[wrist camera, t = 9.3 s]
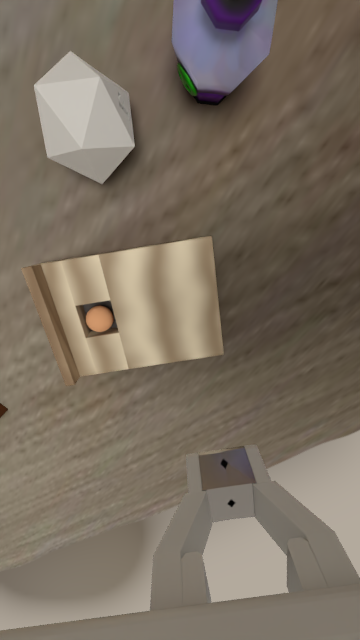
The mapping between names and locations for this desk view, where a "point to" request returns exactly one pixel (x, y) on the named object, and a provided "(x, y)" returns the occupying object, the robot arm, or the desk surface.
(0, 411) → the hardcover book
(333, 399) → the desk surface
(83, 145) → the die
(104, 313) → the ball
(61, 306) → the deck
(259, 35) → the potion bottle
